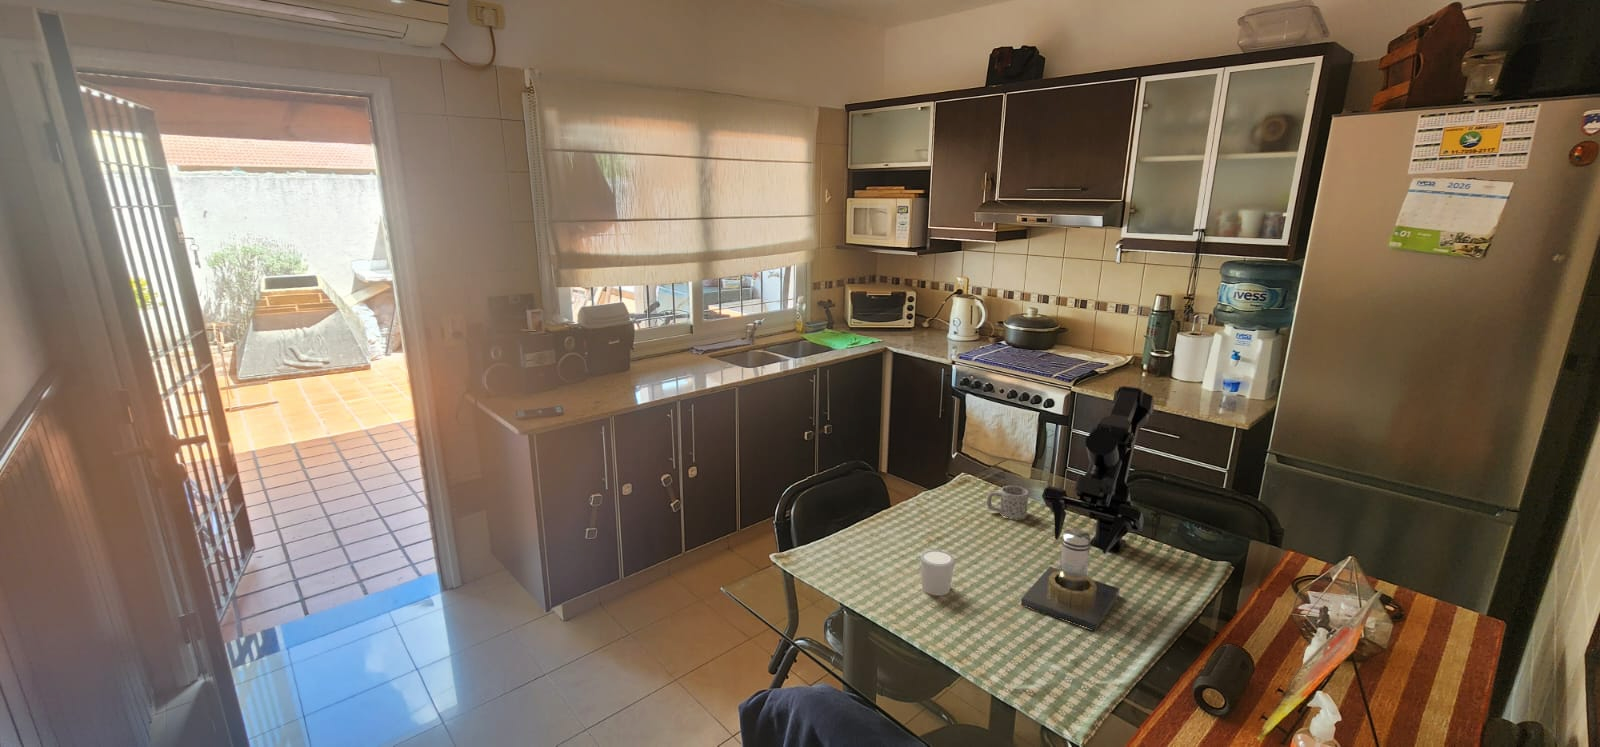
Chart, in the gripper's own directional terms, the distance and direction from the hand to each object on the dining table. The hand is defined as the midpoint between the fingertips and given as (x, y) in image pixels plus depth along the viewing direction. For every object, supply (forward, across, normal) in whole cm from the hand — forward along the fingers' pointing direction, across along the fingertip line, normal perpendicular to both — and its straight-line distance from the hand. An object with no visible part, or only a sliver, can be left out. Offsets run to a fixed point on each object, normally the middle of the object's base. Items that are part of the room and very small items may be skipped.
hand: (1079, 546), depth 133 cm
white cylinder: (+19, -23, -3) cm, 30 cm away
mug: (-12, -26, +28) cm, 40 cm away
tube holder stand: (+10, 0, +6) cm, 11 cm away
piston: (+8, 0, +5) cm, 10 cm away
